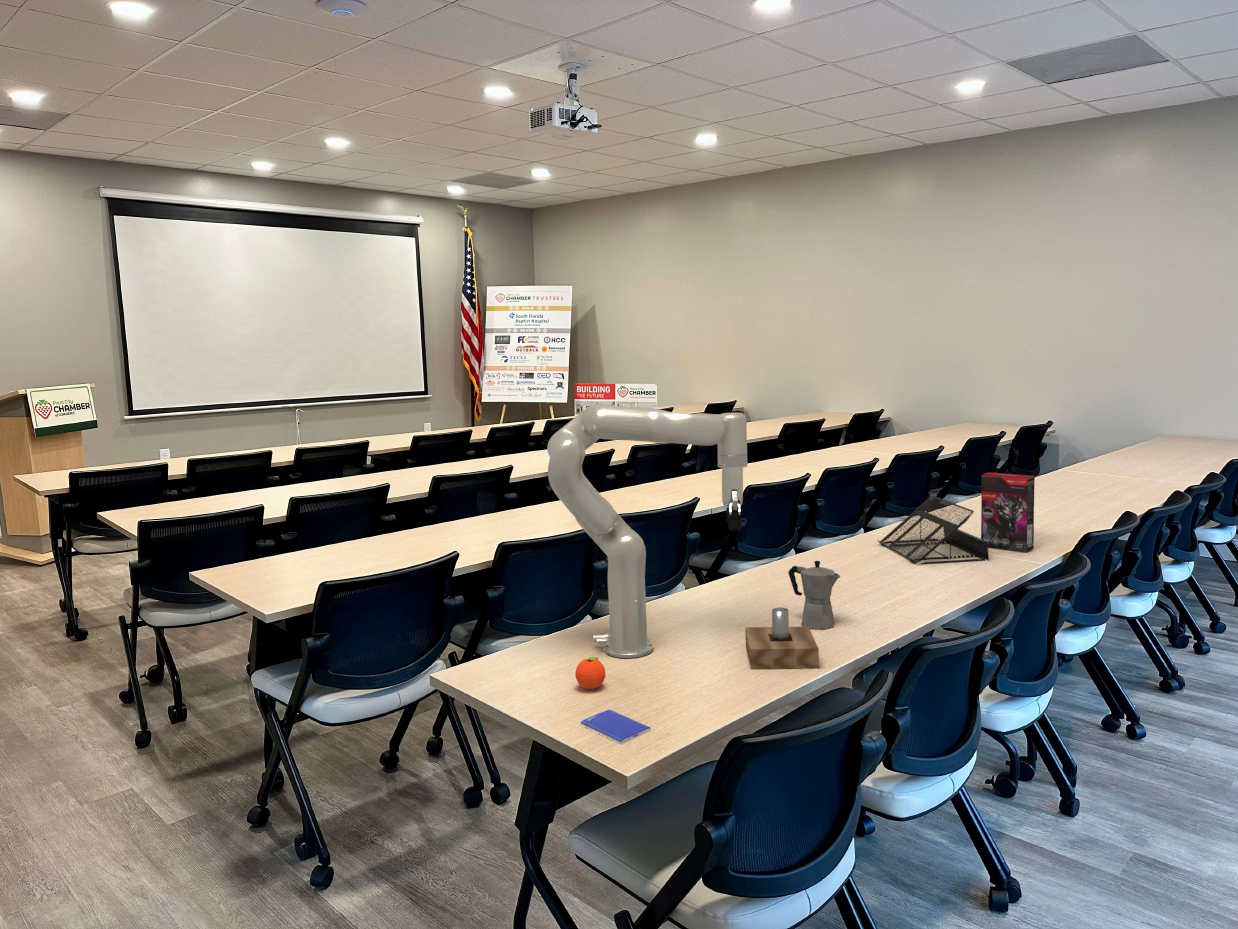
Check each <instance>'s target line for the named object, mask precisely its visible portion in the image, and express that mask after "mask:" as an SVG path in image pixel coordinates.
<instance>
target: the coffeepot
mask: <svg viewBox="0 0 1238 929" xmlns="http://www.w3.org/2000/svg"><path fill="white" fill-rule="evenodd" d="M813 563H814V566H812V567H805V566H797V565H793V566H792V567H791V568H789V570H788V576H789V580H790V583H791V586H792V588H793V593H794V595H796V596H802V595H804V596H805V597H804V599H805V600H804V606H803V611H802V617H801V623H800V624H801V627H809V629H810V630H814V629H815V630H816V631H817V630H818V631H822V630H830V629H832V628H833V627H835V618H834V612H833V605H832V603H831V596H832V592H833V587H834V585H835V584H836V582H837V581H838V580H839V579H841V575H840V574H839V573H836V572H835V570H834V569H830V568H827V567H822V566H821V567H820V564H821V561H820V560H814V562H813ZM795 574H799V575H800V577H801V579H800V580H801V583H802V590H803V592H800V591H799V588H798V587H799V585H798V582H797V578H796V575H795ZM815 630H814V631H815Z"/></svg>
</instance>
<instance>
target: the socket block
mask: <svg viewBox="0 0 1238 929" xmlns="http://www.w3.org/2000/svg"><path fill="white" fill-rule="evenodd" d="M744 629H745V649H746V654H747V658H748V663H749V668H750V670H803V669H802V668H820V665H819V664H820V663H819V662H820V660H819V659H820V655H819V654H820V653H819V646H818V645H817V642H816V640H815V637H814V636H813V633H812V631H811V629H809V627H804V626H789V641H772V626H758V627H755V626H753V627H752V626H751V627H746V626H745V628H744Z"/></svg>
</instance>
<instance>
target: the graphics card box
mask: <svg viewBox="0 0 1238 929" xmlns="http://www.w3.org/2000/svg"><path fill="white" fill-rule="evenodd" d="M1035 478H1036V475H1027V474H1026V475H1025V474H1012V473H1001V472H1000V473H998V472H985V473H983V474H982V475H981V497H980V499H981V504H980V505H981V507H980V508H981V509H980V510H981V511H980V512H981V513H980V514H981V515H980V516H981V517H980V539H982V540H985V541H987V543H988V548H990V549H991V548H992V549H1001V550H1009V551H1017V552H1024V553H1026V552H1027V553H1028V552H1029V551H1032V550H1034V548H1035V547H1034V545H1035V544H1034V539H1035Z"/></svg>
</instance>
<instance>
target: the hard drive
mask: <svg viewBox="0 0 1238 929" xmlns="http://www.w3.org/2000/svg"><path fill="white" fill-rule="evenodd" d="M581 725H584V726H586V727H588V728H590V729H592V730H594V731H596V732H599V733H601V734H603V735H604V736H607V737H609V738H611V739H612V740H611V739H610V740H611V741H613V740H615V741H616V742H615V741H614V742H615V743H617V742H618V744H619V745H622V744H625V743H627V742H629V741H631V739H632V740H633V738H634V739H636V738H638V737H640V736H643V735H644V733H645V734H647V733H649V732H651V727H650V726H648V725H646V724H644V723H641V722H639V721H637V720H635V719H632V718H630V717H628V716H625V715H623V714H621V713H619V712H617V711H614V710H612V709H606V710H604V711H601V712H598V713H596V714H595V715H592V716H588V717H587V718H584V719H582V720H581V721H580V726H581ZM592 730H591V731H592ZM594 731H593V732H594ZM596 732H595V733H596ZM646 732H647V733H646ZM642 734H643V735H642ZM604 736H603V737H604ZM637 736H638V737H637ZM635 737H636V738H635ZM609 738H608V739H609ZM628 740H629V741H628Z"/></svg>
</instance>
